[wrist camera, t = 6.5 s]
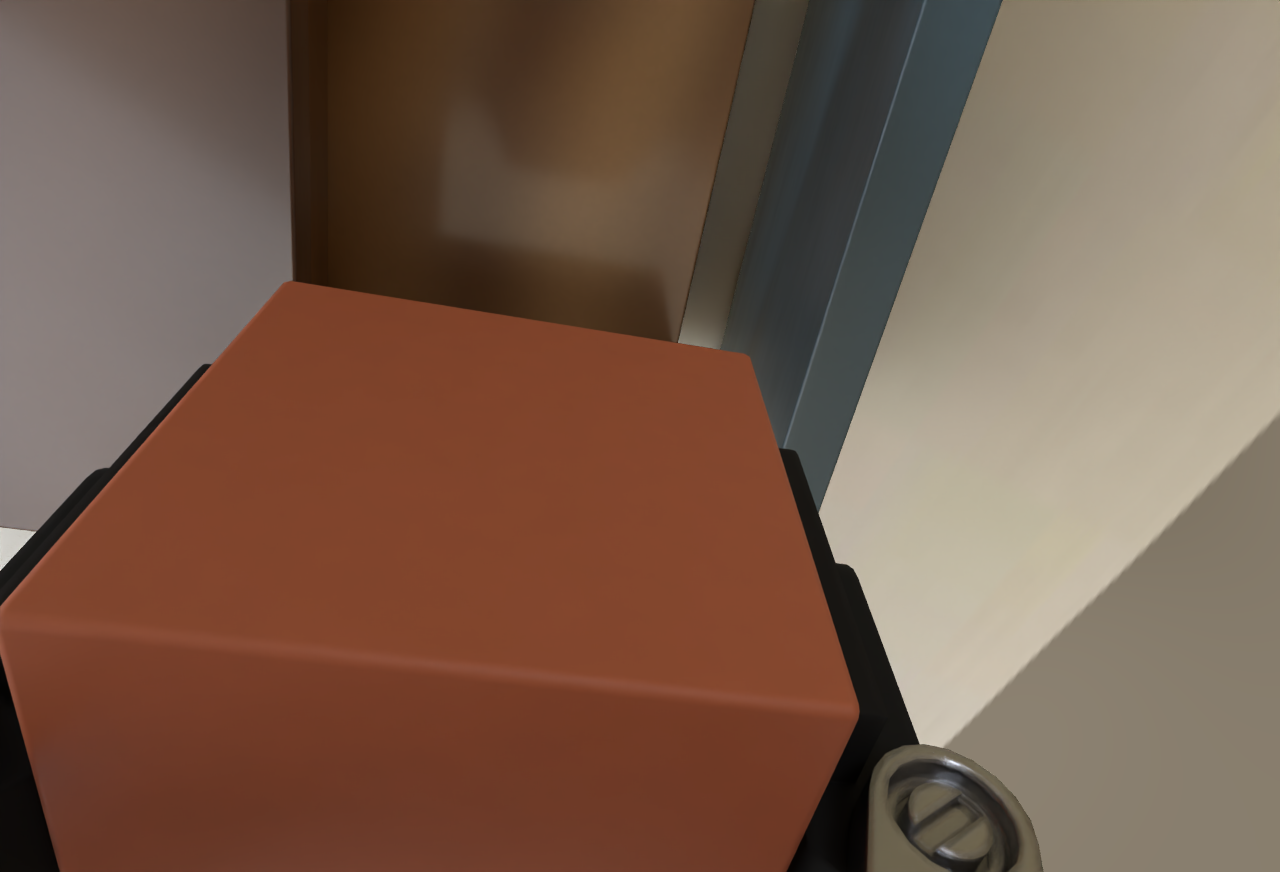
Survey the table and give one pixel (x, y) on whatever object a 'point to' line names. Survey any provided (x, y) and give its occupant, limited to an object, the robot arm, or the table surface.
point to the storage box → (638, 171)
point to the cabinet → (136, 215)
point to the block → (435, 612)
